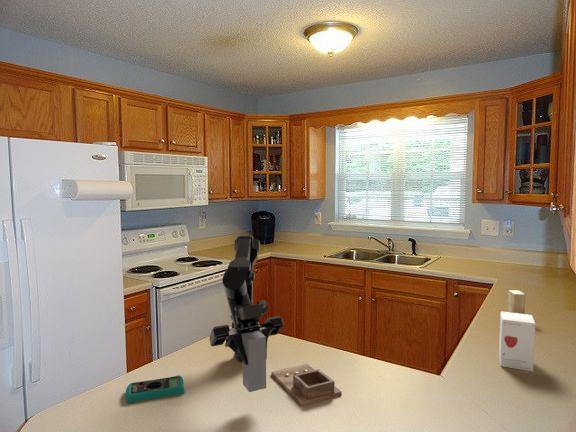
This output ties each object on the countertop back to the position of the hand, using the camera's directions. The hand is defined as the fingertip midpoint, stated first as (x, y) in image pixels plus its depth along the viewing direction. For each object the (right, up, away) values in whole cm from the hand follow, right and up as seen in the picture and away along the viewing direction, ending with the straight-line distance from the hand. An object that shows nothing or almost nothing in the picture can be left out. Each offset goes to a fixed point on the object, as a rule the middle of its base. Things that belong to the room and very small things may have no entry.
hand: (256, 362), depth 99 cm
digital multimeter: (-28, -12, +10) cm, 32 cm away
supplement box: (+79, -10, +27) cm, 84 cm away
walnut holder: (+12, -11, +14) cm, 22 cm away
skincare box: (+101, -7, +66) cm, 121 cm away
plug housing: (-1, -6, +2) cm, 7 cm away
